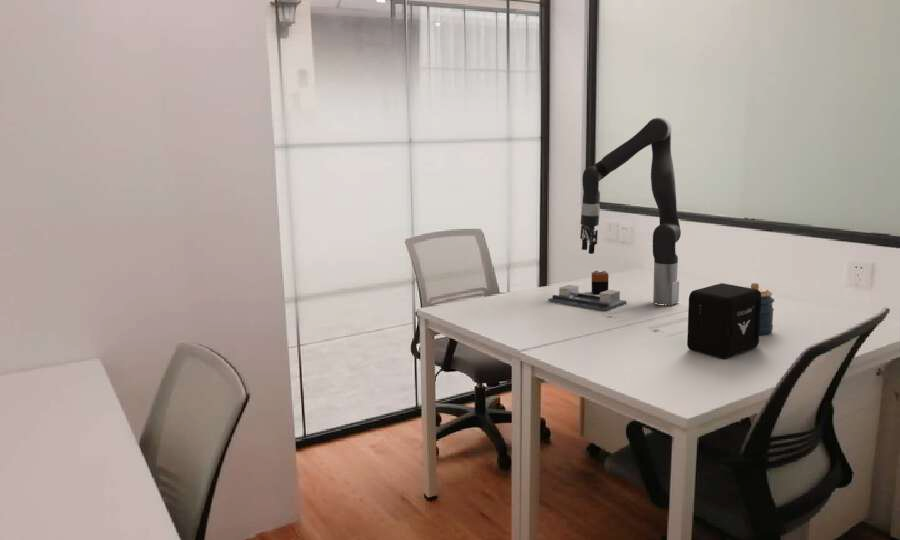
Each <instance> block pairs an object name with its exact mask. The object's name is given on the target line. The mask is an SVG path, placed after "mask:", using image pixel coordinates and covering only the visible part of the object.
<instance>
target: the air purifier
mask: <svg viewBox="0 0 900 540" xmlns="http://www.w3.org/2000/svg"><path fill="white" fill-rule="evenodd" d="M747 287H748V286H741V285H740V286H739V285H735V284H734V285H733V284H730V283H722V282H721V283H716V284H713V285H710V286H705V287H702V288H697V289H694V290H692V291H691V292H690V293H689V296H688V307H687V308H688V309H687V311H688V314H687V315H688V317H687V343H686V345H687V348H688V349H689V350H690V351H693V352H694V351H695V352H699V353H702V354H705V355H710V356H714V357H718V358H722V359H729V358H731V357H734V356H737V355H739V354H743V353H745V352H747V351H750V350H753V349H756V348H757V347H758V345H759V343H760V336H759V333H760V314H761V292H760V291H759V290H757V289H752V288H747Z"/></svg>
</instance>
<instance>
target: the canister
mask: <svg viewBox="0 0 900 540" xmlns="http://www.w3.org/2000/svg"><path fill="white" fill-rule="evenodd" d="M746 287H747V288H752V289H757V290H759V291H760V292H761V314H760V333H759V337H761V336H763V337H764V336H768V335H770V334H772V332H773V327H774V325H773V321H774V319H773V318H774V310H775V309H774V307H773V303H774V302H775V298H773V297H772V295H773V292H771V290H769V289H768V288H767V287H761V286H760V285H759V283H758V282H752V283H751V284H750V286H746Z"/></svg>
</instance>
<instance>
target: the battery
mask: <svg viewBox="0 0 900 540" xmlns="http://www.w3.org/2000/svg"><path fill="white" fill-rule="evenodd" d="M606 290H609V273H608V271H606V270H602V271H599V270H594V271H593V272H591V293H592V295H600V293H601V292H604V291H606Z"/></svg>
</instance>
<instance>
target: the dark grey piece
mask: <svg viewBox="0 0 900 540" xmlns="http://www.w3.org/2000/svg"><path fill="white" fill-rule="evenodd" d="M620 292H621V291H620V290H615V289H608V290H606V291H604V292H601V293H600V294H599V296H598V295H595V294H587V293H580V292H579V293H578V296H575V297H572V298H569V297H563V296H559V295H556V294H552V297H550V298H548V299H547V300H548V301H550V302H549V303H553V302H555V303H554V304H558V303H559V305H565V306H570V307H576V308H583V309H587V310H592V309H593V311H598V310H599V312H603V311H605V312H604V313H606V311H607V312H609V311H612V310H614V309H617V308H619V307H618V306H620V307H622V306H625V305H627V301H626V300H622V299H620V297H621V293H620ZM624 304H625V305H624ZM621 305H622V306H621ZM616 307H617V308H616ZM611 309H612V310H611Z"/></svg>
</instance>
